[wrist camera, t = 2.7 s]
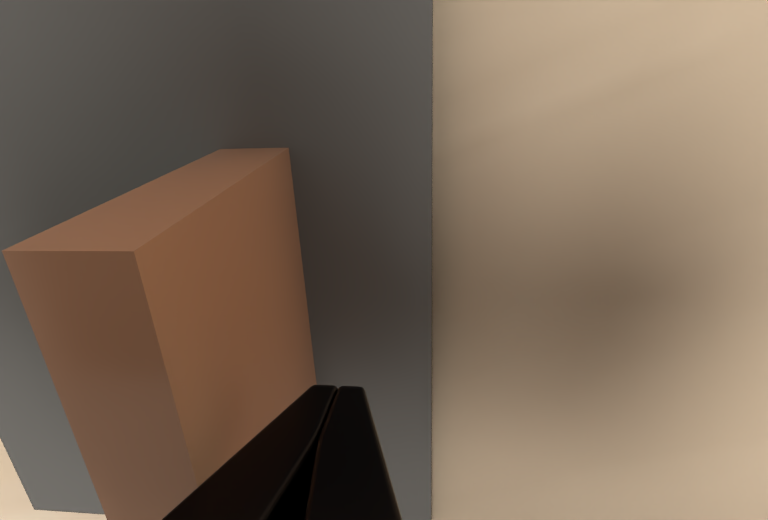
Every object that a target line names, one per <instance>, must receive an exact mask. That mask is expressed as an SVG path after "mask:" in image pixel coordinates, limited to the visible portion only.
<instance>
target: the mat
mask: <svg viewBox="0 0 768 520" xmlns="http://www.w3.org/2000/svg"><path fill="white" fill-rule="evenodd" d="M432 26H433V0H0V438H1V440H2V442H3V445H4V447H5V449H6V451H7V453H8V455H9V457H10V459H11V461H12V463H13V466H14V468H15V470H16V472H17V474H18V476H19V478H20V480H21V482H22V485H23V487H24V489H25V491H26V493H27V495H28V497H29V499H30V501H31V503H32V506H33V508H34V510H48V511H63V512H78V513H92V514H105V513H104V510H103V508H102V505H101V503H100V500H99V498H98V495H97V493H96V490H95V487H94V485H93V482H92V480H91V477H90V475H89V472H88V470H87V467H86V465H85V462H84V459H83V457H82V454H81V452H80V449H79V447H78V444H77V442H76V439H75V436H74V434H73V431H72V429H71V426H70V424H69V421H68V419H67V416H66V414H65V411H64V408H63V406H62V403H61V401H60V398H59V396H58V393H57V391H56V388H55V385H54V383H53V380H52V378H51V375H50V373H49V370H48V368H47V365H46V363H45V360H44V357H43V355H42V352H41V350H40V347H39V345H38V342H37V340H36V337H35V335H34V332H33V329H32V327H31V324H30V322H29V319H28V317H27V314H26V312H25V309H24V306H23V304H22V301H21V299H20V296H19V294H18V291H17V289H16V286H15V284H14V281H13V278H12V276H11V273H10V271H9V268H8V266H7V263H6V261H5V258H4V255H3V253H2V250H4V249H6V248H9V247H11V246H13V245H15V244H17V243H19V242H22V241H24V240H26V239H28V238H30V237H32V236H34V235H37V234H39V233H41V232H43V231H45V230H47V229H49V228H52V227H54V226H56V225H58V224H60V223H62V222H65V221H67V220H69V219H71V218H73V217H75V216H77V215H80V214H82V213H84V212H86V211H88V210H90V209H92V208H95V207H97V206H99V205H101V204H103V203H105V202H107V201H110V200H112V199H114V198H116V197H118V196H120V195H123V194H125V193H127V192H129V191H131V190H133V189H135V188H138V187H140V186H142V185H144V184H146V183H148V182H150V181H153V180H155V179H157V178H159V177H161V176H163V175H166V174H168V173H170V172H172V171H174V170H176V169H178V168H181V167H183V166H185V165H187V164H189V163H191V162H193V161H196V160H198V159H200V158H202V157H204V156H206V155H208V154H211V153H213V152H215V151H217V150H219V149H243V148H289V155H290V163H291V172H292V180H293V189H294V197H295V206H296V214H297V223H298V231H299V240H300V248H301V257H302V265H303V274H304V282H305V291H306V299H307V308H308V316H309V324H310V333H311V341H312V350H313V358H314V367H315V375H316V384H317V385H335V386H336V387H337V388H339V387H341V386H361V387H363V388H364V389H365V392H366V396H367V399H368V403H369V406H370V410H371V413H372V416H373V420H374V423H375V427H376V430H377V434H378V437H379V441H380V444H381V448H382V451H383V455H384V458H385V462H386V465H387V469H388V472H389V475H390V479H391V482H392V486H393V489H394V493H395V496H396V500H397V503H398V507H399V510H400V514H401V517H402V520H431V455H432Z"/></svg>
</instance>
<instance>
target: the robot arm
mask: <svg viewBox="0 0 768 520" xmlns="http://www.w3.org/2000/svg"><path fill="white" fill-rule="evenodd" d="M162 520H402V517H401V514H400V510H399V507H398V503H397V500H396V496H395V493H394V489H393V486H392V482H391V479H390V475H389V472H388V469H387V465H386V462H385V458H384V455H383V451H382V448H381V444H380V441H379V437H378V434H377V430H376V427H375V423H374V420H373V416H372V413H371V410H370V406H369V403H368V399H367V396H366V392H365V389H364V388H363V387H361V386H341V387H339V388H337V387H336V386H335V385H313V386H311V387H310V388H308V389H307V390H306V391H305V392H304V393H303V394H302V395H301V396H299V397H298V398H297V399H296V400H295V401H294V402H293V403H292V404H290V405H289V406H288V407H287V408H286V409H285V410H284V411H283V412H282V413H280V414H279V415H278V416H277V417H276V418H275V419H274V420H273V421H271V422H270V423H269V424H268V425H267V426H266V427H265V428H264V429H262V430H261V431H260V432H259V433H258V434H257V435H256V436H255V437H254V438H252V439H251V440H250V441H249V442H248V443H247V444H246V445H245V446H243V447H242V448H241V449H240V450H239V451H238V452H237V453H236V454H234V455H233V456H232V457H231V458H230V459H229V460H228V461H227V462H226V463H224V464H223V465H222V466H221V467H220V468H219V469H218V470H217V471H215V472H214V473H213V474H212V475H211V476H210V477H209V478H208V479H206V480H205V481H204V482H203V483H202V484H201V485H200V486H199V487H198V488H196V489H195V490H194V491H193V492H192V493H191V494H190V495H189V496H187V497H186V498H185V499H184V500H183V501H182V502H181V503H180V504H178V505H177V506H176V507H175V508H174V509H173V510H172V511H171V512H170V513H168V514H167V515H166V516H165V517H164V518H163V519H162Z"/></svg>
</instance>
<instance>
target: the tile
mask: <svg viewBox="0 0 768 520" xmlns="http://www.w3.org/2000/svg"><path fill="white" fill-rule="evenodd" d="M2 253H3V255H4V258H5V261H6V263H7V266H8V268H9V271H10V273H11V276H12V278H13V281H14V284H15V286H16V289H17V291H18V294H19V296H20V299H21V301H22V304H23V306H24V309H25V312H26V314H27V317H28V319H29V322H30V324H31V327H32V329H33V332H34V335H35V337H36V340H37V342H38V345H39V347H40V350H41V352H42V355H43V357H44V360H45V363H46V365H47V368H48V370H49V373H50V375H51V378H52V380H53V383H54V385H55V388H56V391H57V393H58V396H59V398H60V401H61V403H62V406H63V408H64V411H65V414H66V416H67V419H68V421H69V424H70V426H71V429H72V431H73V434H74V436H75V439H76V442H77V444H78V447H79V449H80V452H81V454H82V457H83V459H84V462H85V465H86V467H87V470H88V472H89V475H90V477H91V480H92V482H93V485H94V487H95V490H96V493H97V495H98V498H99V500H100V503H101V505H102V508H103V510H104V513H105V516H106V518H107V520H162V519H163V518H164V517H165V516H166V515H167V514H168V513H170V512H171V511H172V510H173V509H174V508H175V507H176V506H177V505H178V504H180V503H181V502H182V501H183V500H184V499H185V498H186V497H187V496H189V495H190V494H191V493H192V492H193V491H194V490H195V489H196V488H198V487H199V486H200V485H201V484H202V483H203V482H204V481H205V480H206V479H208V478H209V477H210V476H211V475H212V474H213V473H214V472H215V471H217V470H218V469H219V468H220V467H221V466H222V465H223V464H224V463H226V462H227V461H228V460H229V459H230V458H231V457H232V456H233V455H234V454H236V453H237V452H238V451H239V450H240V449H241V448H242V447H243V446H245V445H246V444H247V443H248V442H249V441H250V440H251V439H252V438H254V437H255V436H256V435H257V434H258V433H259V432H260V431H261V430H262V429H264V428H265V427H266V426H267V425H268V424H269V423H270V422H271V421H273V420H274V419H275V418H276V417H277V416H278V415H279V414H280V413H282V412H283V411H284V410H285V409H286V408H287V407H288V406H289V405H290V404H292V403H293V402H294V401H295V400H296V399H297V398H298V397H299V396H301V395H302V394H303V393H304V392H305V391H306V390H307V389H308V388H310V387H311V386H313V385H317V384H316V375H315V367H314V358H313V350H312V341H311V333H310V324H309V316H308V308H307V299H306V291H305V282H304V274H303V265H302V257H301V248H300V240H299V231H298V223H297V214H296V206H295V197H294V189H293V180H292V172H291V163H290V155H289V148H243V149H219V150H217V151H215V152H213V153H211V154H208V155H206V156H204V157H202V158H200V159H198V160H196V161H193V162H191V163H189V164H187V165H185V166H183V167H181V168H178V169H176V170H174V171H172V172H170V173H168V174H166V175H163V176H161V177H159V178H157V179H155V180H153V181H150V182H148V183H146V184H144V185H142V186H140V187H138V188H135V189H133V190H131V191H129V192H127V193H125V194H123V195H120V196H118V197H116V198H114V199H112V200H110V201H107V202H105V203H103V204H101V205H99V206H97V207H95V208H92V209H90V210H88V211H86V212H84V213H82V214H80V215H77V216H75V217H73V218H71V219H69V220H67V221H65V222H62V223H60V224H58V225H56V226H54V227H52V228H49V229H47V230H45V231H43V232H41V233H39V234H37V235H34V236H32V237H30V238H28V239H26V240H24V241H22V242H19V243H17V244H15V245H13V246H11V247H9V248H6V249H4V250H2Z"/></svg>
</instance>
